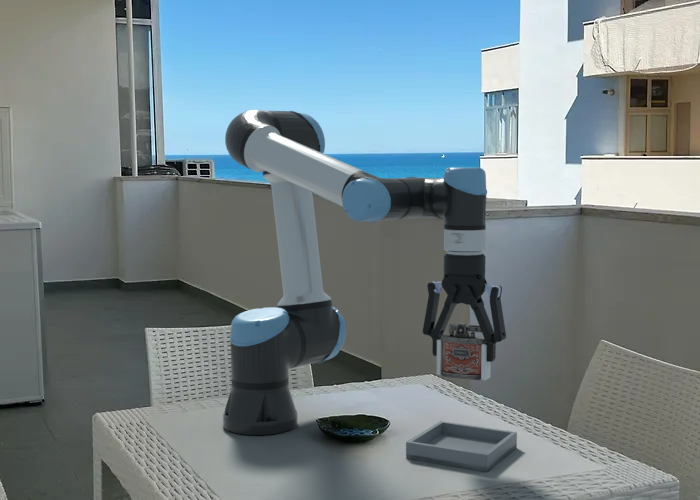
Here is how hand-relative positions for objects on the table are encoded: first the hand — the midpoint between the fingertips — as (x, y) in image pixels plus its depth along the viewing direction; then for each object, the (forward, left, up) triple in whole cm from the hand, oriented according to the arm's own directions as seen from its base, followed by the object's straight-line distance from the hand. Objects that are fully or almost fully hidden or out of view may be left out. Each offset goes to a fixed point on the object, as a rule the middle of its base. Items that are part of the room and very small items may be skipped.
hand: (463, 375), depth 170 cm
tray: (0, 0, -14) cm, 14 cm away
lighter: (0, 0, 0) cm, 0 cm away
